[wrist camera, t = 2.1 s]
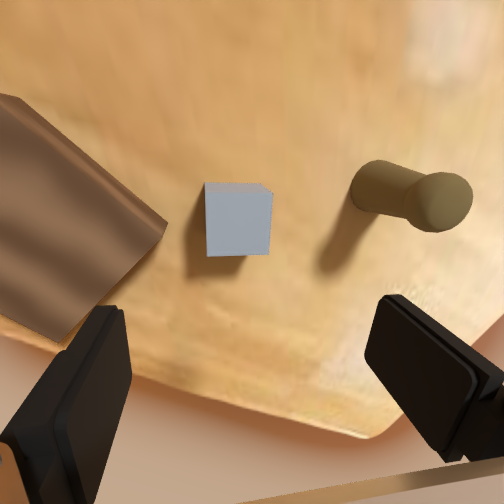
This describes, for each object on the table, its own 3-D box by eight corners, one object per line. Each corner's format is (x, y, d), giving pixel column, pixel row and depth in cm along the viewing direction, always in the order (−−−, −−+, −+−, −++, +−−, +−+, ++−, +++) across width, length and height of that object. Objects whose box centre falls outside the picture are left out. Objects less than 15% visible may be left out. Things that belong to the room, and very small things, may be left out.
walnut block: (22, 98, 23) (-22, 87, 18) (168, 221, 29) (162, 236, 25) (-76, 225, 25) (-136, 243, 21) (78, 314, 32) (58, 343, 27)
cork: (355, 218, 33) (423, 253, 23) (345, 171, 30) (417, 187, 20) (399, 200, 33) (486, 226, 23) (394, 151, 30) (489, 156, 20)
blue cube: (259, 183, 29) (273, 193, 24) (257, 234, 31) (268, 254, 26) (204, 182, 28) (205, 192, 23) (206, 235, 30) (207, 256, 25)
